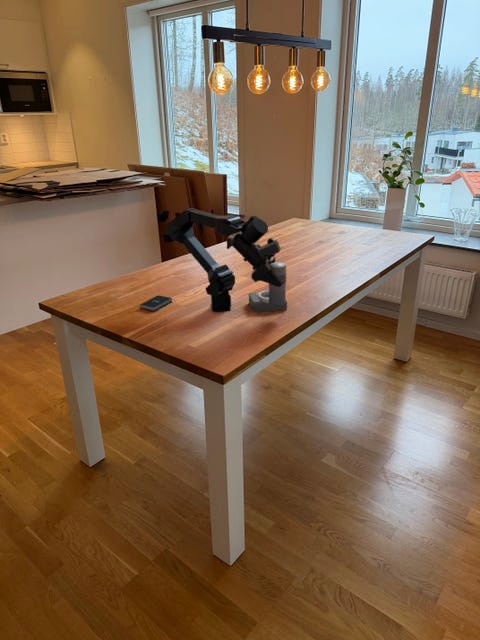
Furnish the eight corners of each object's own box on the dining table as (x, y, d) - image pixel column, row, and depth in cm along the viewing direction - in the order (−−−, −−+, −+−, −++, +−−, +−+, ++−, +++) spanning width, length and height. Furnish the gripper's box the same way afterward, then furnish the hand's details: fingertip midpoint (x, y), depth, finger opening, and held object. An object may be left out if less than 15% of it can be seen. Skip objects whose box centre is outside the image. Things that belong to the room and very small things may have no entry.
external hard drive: (172, 302, 167) (172, 298, 166) (154, 313, 158) (153, 308, 157) (158, 299, 170) (157, 295, 169) (139, 310, 161) (138, 305, 160)
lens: (270, 305, 147) (270, 267, 141) (266, 299, 152) (266, 262, 146) (287, 303, 147) (288, 266, 142) (283, 297, 153) (283, 261, 147)
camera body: (253, 312, 156) (253, 300, 154) (249, 303, 164) (248, 291, 162) (286, 309, 158) (287, 297, 156) (280, 300, 166) (280, 289, 164)
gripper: (261, 239, 132) (297, 276, 135) (269, 226, 149) (301, 258, 152) (236, 264, 137) (271, 299, 140) (246, 248, 154) (277, 279, 156)
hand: (281, 282), depth 147 cm, fingers closed on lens, 6 cm apart
